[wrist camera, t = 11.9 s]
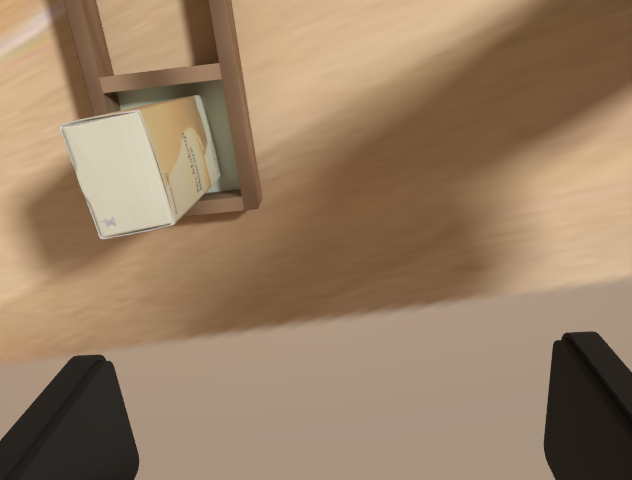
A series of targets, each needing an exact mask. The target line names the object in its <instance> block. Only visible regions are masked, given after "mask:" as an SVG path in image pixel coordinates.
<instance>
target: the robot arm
mask: <svg viewBox="0 0 632 480" xmlns="http://www.w3.org/2000/svg"><path fill="white" fill-rule="evenodd" d="M544 452H545V456H546V460H547V462H548V465H549V467H550V469H551V471H552V473H553V475H554V477H555V479H556V480H632V372H631V371H630V370H629V369H628V368H627V367H626V366H625V364H624V363H623V362H622V361H621V360H620V358H619V357H618V356H617V355H616V354H615V353H614V351H613V350H612V349H611V348H610V347H609V346H608V344H607V343H606V342H605V341H604V340H603V339H602V337H601V336H600V335H599V334H598V333H596V332H574V333H573V332H572V333H565V334H564V335H563V336H562V340H557V341H555V342H554V344H553V351H552V362H551V372H550V383H549V394H548V404H547V414H546V425H545V435H544ZM138 467H139V455H138V451H137V447H136V444H135V440H134V437H133V433H132V429H131V426H130V422H129V419H128V415H127V412H126V408H125V404H124V401H123V397H122V394H121V390H120V386H119V383H118V379H117V376H116V372H115V369H114V366H113V363H112V362H110V361H106V359H105V358H104V356H102V355H82V356H74V357H72V358H71V359H70V360H69V361H68V363H67V364H66V365H65V366H64V367H63V368H62V370H61V371H60V372H59V373H58V374H57V375H56V376H55V378H54V379H53V380H52V381H51V382H50V384H49V385H48V386H47V387H46V388H45V389H44V390H43V392H42V393H41V394H40V395H39V396H38V397H37V399H36V400H35V401H34V402H33V403H32V405H31V406H30V407H29V408H28V409H27V410H26V411H25V413H24V414H23V415H22V416H21V417H20V418H19V420H18V421H17V422H16V423H15V424H14V425H13V427H12V428H11V429H10V430H9V431H8V432H7V434H6V435H5V436H4V437H3V438H2V439H1V441H0V480H134V478H135V476H136V474H137V471H138Z"/></svg>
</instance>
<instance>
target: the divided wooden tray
mask: <svg viewBox="0 0 632 480" xmlns="http://www.w3.org/2000/svg"><path fill="white" fill-rule="evenodd" d="M208 1H209V6H210V12H211V18H212V24H213V30H214V36H215V42H216V48H217V53H218V59H219V63H215V64H207V65H198V66H190V67H182V68H173V69H165V70H157V71H149V72H140V73H132V74H124V75H116V76H114V74H113V70H112V66H111V61H110V57H109V53H108V49H107V45H106V41H105V36H104V32H103V28H102V24H101V20H100V16H99V11H98V7H97V3H96V0H64V3H65V7H66V11H67V15H68V19H69V23H70V26H71V30H72V34H73V38H74V42H75V46H76V50H77V53H78V57H79V61H80V65H81V69H82V73H83V76H84V80H85V84H86V88H87V92H88V96H89V100H90V103H91V107H92V111H93V115H94V116H98V115H103V114H108V113H112V112H117V111H121V110H126V109H130V108H135V107H139V106H143V105H148V104H153V103H158V102H162V101H167V100H172V99H177V98H183V97H188V96H194V95H199V96H200V97H201V101H202V104H203V107H204V111H205V114H206V117H207V121H208V124H209V127H210V131H211V134H212V138H213V142H214V146H215V150H216V154H217V158H218V162H219V167H220V171H221V177H220V178H219V179H218V180H217V181H216V182H215V184H214V185H213V186H212V187H211V188H210V189H209V190H208V191H207V192H206V193H205V194H204V195H203V196H202V197H201V198H200V199H199V200H198V201H197V202H196V203H195V204H194V205H193V206H192V207H191V208H190V209H189V210H188V211H187V212H186V213H185V214H184V215H183V216H182V217H185V216H194V215H204V214H213V213H223V212H232V211H242V210H252V209H258V208H259V205H260V203H261V201H262V196H261V189H260V183H259V176H258V170H257V164H256V157H255V151H254V144H253V138H252V132H251V125H250V119H249V112H248V106H247V99H246V93H245V87H244V80H243V74H242V67H241V61H240V55H239V48H238V42H237V35H236V29H235V22H234V16H233V10H232V3H231V0H208Z"/></svg>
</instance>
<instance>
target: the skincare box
mask: <svg viewBox="0 0 632 480" xmlns="http://www.w3.org/2000/svg"><path fill="white" fill-rule="evenodd" d="M60 131H61V133H62V136H63V139H64V142H65V144H66V147H67V150H68V153H69V156H70V158H71V161H72V164H73V166H74V170H75V173H76V176H77V179H78V182H79V185H80V187H81V190H82V192H83V194H84V197H85V199H86V202H87V205H88V208H89V210H90V213H91V215H92V218H93V221H94V224H95V227H96V229H97V232H98V235H99V237H100V239H107V238H113V237H119V236H124V235H130V234H136V233H141V232H146V231H151V230H156V229H160V228H164V227H168V226H172V225H174V224H175V223H176V222H177V221H178V220H179V219H180V218H181V217H182V216H183V215H184V214H185V213H186V212H187V211H188V210H189V209H190V208H191V207H192V206H193V205H194V204H195V203H196V202H197V201H198V200H199V199H200V198H201V197H202V196H203V195H204V194H205V193H206V192H207V191H208V190H209V189H210V188H211V187H212V186H213V185H214V184H215V182H216V181H217V180H218V179H219V178H220V177H221V171H220V167H219V162H218V158H217V154H216V150H215V146H214V142H213V138H212V134H211V131H210V127H209V124H208V121H207V117H206V114H205V111H204V107H203V104H202V101H201V97H200V96H199V95H194V96H188V97H183V98H177V99H172V100H167V101H162V102H158V103H153V104H148V105H143V106H139V107H135V108H130V109H126V110H121V111H117V112H112V113H108V114H103V115H98V116H94V117H89V118H84V119H79V120H75V121H70V122H66V123H62V124H61V125H60Z"/></svg>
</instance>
